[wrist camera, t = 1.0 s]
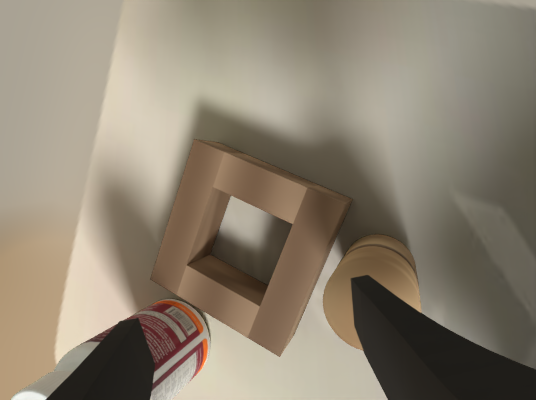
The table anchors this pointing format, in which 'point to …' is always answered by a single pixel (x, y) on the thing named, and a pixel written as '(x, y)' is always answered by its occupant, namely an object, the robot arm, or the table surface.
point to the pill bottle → (161, 346)
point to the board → (224, 275)
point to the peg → (376, 266)
